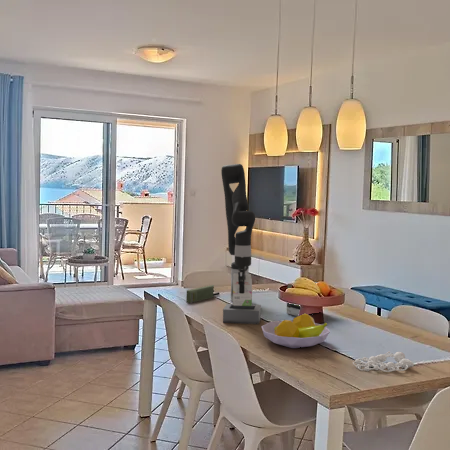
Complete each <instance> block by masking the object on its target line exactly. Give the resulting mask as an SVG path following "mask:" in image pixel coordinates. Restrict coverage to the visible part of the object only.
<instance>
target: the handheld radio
mask: <svg viewBox="0 0 450 450" xmlns="http://www.w3.org/2000/svg"><path fill="white" fill-rule="evenodd" d="M214 286H215V285H214V284H211V285H210V284H209V285H207V286H206V285H205V286H202V287H197V288H191V289H188V290H186V299H185V300H186V301H185V302H186V303H187V302H188V303H187V304H190V303H191V302H192V303H196V302H199V301H204V300H208V299H212V298H214V297H215V296H219V295H220V292H215V287H214Z"/></svg>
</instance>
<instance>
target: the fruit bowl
mask: <svg viewBox="0 0 450 450" xmlns="http://www.w3.org/2000/svg"><path fill="white" fill-rule="evenodd" d="M327 326H328V323H327V322H324V323H323V324H320V323H316V322H315V319H314V317H312V315H308V314H306V313H304V314H302V315H300V316H295V317H294V318H293V319H292V320H291V319H283V320H279V321H278V320H276V321H269V322H268V323H265V324H264V325H261V329H262V333H263V337H264V338H266V339H268V340H269V341H271V342H272V343H274V344H277V345H280V346H284V347H287V348H290V349H298V348H300V347H301V348H306V347H308V348H309V347H313V346H316V345H319V344H321V343H323V342H325V341H326V340H327V337H328V336H329V334H330V333H331V330H330V329H329V328H328V327H327ZM301 348H300V349H301Z"/></svg>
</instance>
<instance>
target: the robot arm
mask: <svg viewBox="0 0 450 450" xmlns="http://www.w3.org/2000/svg"><path fill="white" fill-rule="evenodd" d="M245 173H246V172H245V168H244V166H243V164H241V163H234V164H226V165H225V164H224V165H222V167H221V180H222V181H221V182H222V186H223V187H222V188H223V193H224V203H225V206H224V207H225V217H226V225H227V242H228V243H227V244H228V253H229V255H231V256H234V261H233V262H231V264H230V265H231V266H230V268H231V269H230V301H231V302H233V279H234V276H233V275H234V273H235V274H238V280H239V282H238V284H239V293H244V285H245V280H246V274H250V273H249V267H250V266H252V232H253V228H254V225H255V223H256V214H255V213H254V211H252V210H249V202H248V196H247V191H246V190H247V185H246V183H247V182H246V174H245ZM232 184H237V186H236V188H235V189H234V190H232V188H231V185H232ZM239 227H245V229H244V230H242V231H238V229H239ZM240 280H243V282H240Z"/></svg>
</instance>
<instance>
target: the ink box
mask: <svg viewBox="0 0 450 450" xmlns="http://www.w3.org/2000/svg"><path fill="white" fill-rule="evenodd" d="M233 276H234V279H233V301H232V304H233V305H234V306H251V305H253V278H252V274H251V273H249V274H246V280H245V285H244V293H239V284H238V282H239V280H238V274H235V273H234V275H233ZM240 282H243V280H240Z"/></svg>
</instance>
